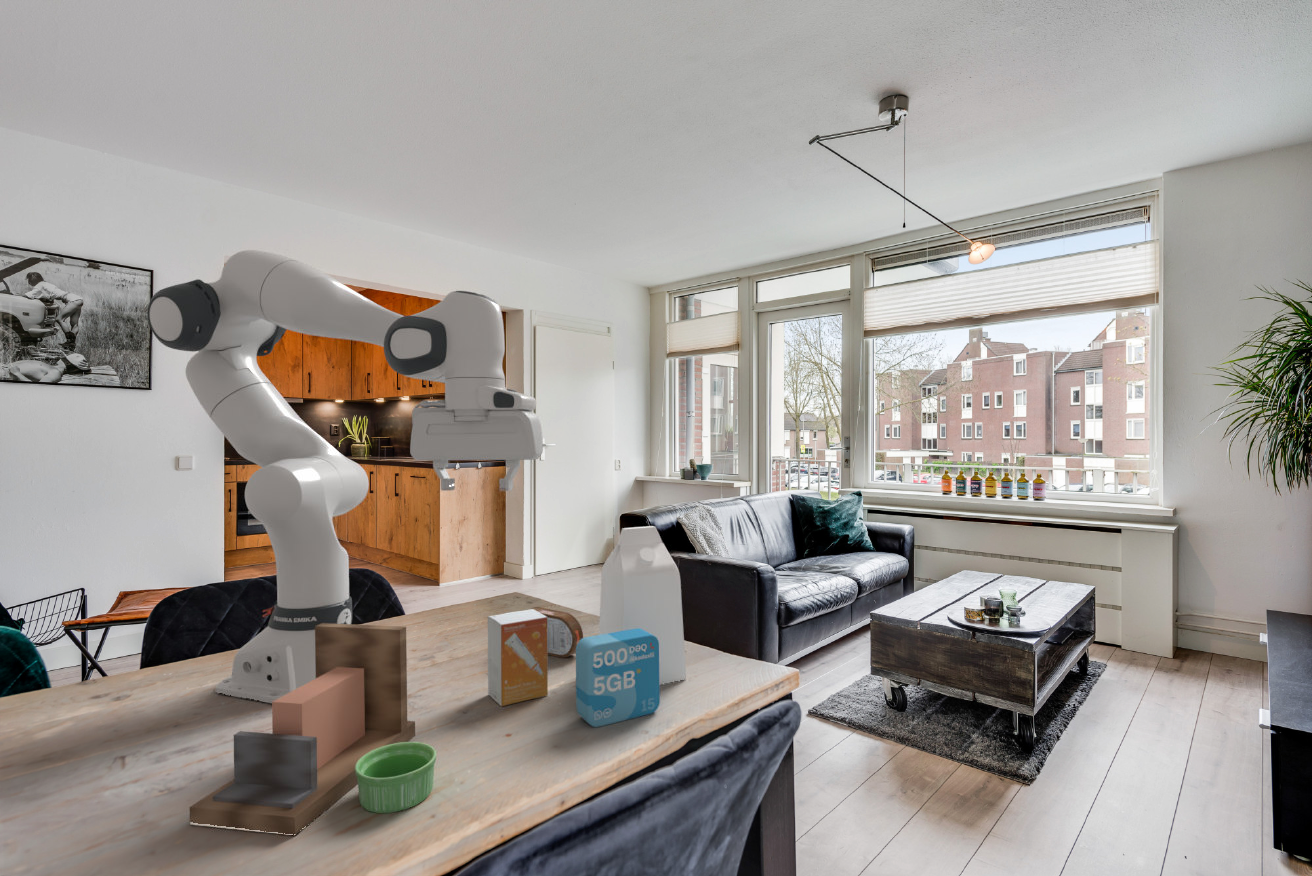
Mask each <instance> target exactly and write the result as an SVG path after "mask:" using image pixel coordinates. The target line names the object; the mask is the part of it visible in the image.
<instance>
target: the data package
mask: <svg viewBox="0 0 1312 876" xmlns="http://www.w3.org/2000/svg"><path fill="white" fill-rule="evenodd" d="M660 686H661V685H660V684H659V641H658V639H657V638H656V637H655V636H654V635H652V634H650V633H648V632H646V631H644V630H642V629H640V628H636V629H630V630H624V631H619V632H613V633H607V634H601V635H599V634H597V635H590V636H586V637H583V638H582V639H581V640H580V641H579V642H578V644H577V646H576V653H575V691H576V693H575V694H576V695H575V698H576V699H575V700H576V703H575V705H576V712H577V714H578V715H579V716H580V717H581V718H582V719H583V720H584V721H585V722H586V723H588V725H589V726H591V727H593V728H599V727H603V726H607V725H612V724H615V723H620V722H623V721H627V720H632V719H636V718H641V717H644V716H648V715H652V714H654V713H655V712H656V711H657V710H658V709H659V706H660V704H661V703H660V702H661V701H660V699H661V698H660V697H661V695H660V690H661V689H660Z"/></svg>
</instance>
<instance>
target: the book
mask: <svg viewBox="0 0 1312 876" xmlns="http://www.w3.org/2000/svg"><path fill="white" fill-rule="evenodd" d="M271 710H272V712H271V714H272V715H271V718H272V719H271V720H272V722H271V723H272V725H271V726H272V728H271V729H272V731H271V732H272V734H284V735H297V736H310V737H317V770H318V769H319V768H320V767H322V766H323V765H324V764H326V763H327V762H328V761H330V760H331V759H333V758H334V757H335V756H337V755H338V754H339V753H341V752H342V751H343V750H345V749H346V748H348V747H349V746H350V745H352V744H353V743H354V742H356V741H357V740H358V739H360V738H361V737H363V736H364V735H365V702H364V668H346V667H337V668H335V669H333V670H331V671H329V672H327V673H325V674H323V675H322V676H320V677H318V678H316V679H314V680H312V681H310V682H308V683H307V684H305V685H303V686H301V687H299V688H297V689H295V690H293V691H292V692H290V693H288V694H286V695H284V696H282V697H280V698H278V699H277V700H275V701H273V702H272V703H271Z"/></svg>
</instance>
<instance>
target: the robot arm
mask: <svg viewBox="0 0 1312 876" xmlns="http://www.w3.org/2000/svg"><path fill="white" fill-rule="evenodd" d="M146 315H147V322H148V324H149V327H150V330H151V332H152V333H153V335H154V336H155V338H156V339H157V340H158V342H159V343H161V344H162V345H164V347H167V348H169V349H173V350H177V351H184V352H197V353H195V354H194V355H192V357H191V358H190V359H189V361H188V362H187V363H186V368H185V377H186V379H187V382H188V384H189V386H190V388H191V390H192V392H193V393H194V394H193V395H194V396H195V397H196V399H197V400H198V403H199V404H200V406H202V408H203V410H204V411H205V413H206V414H207V416H208V417H209V419H211V421H212V422H213V423H214V425H215V426H216V427H217V429H219V431H220V432H221V433H222V434H223V436H224V437H225V438H226V440H227V441H228V443H230V445H231V446H232V447H233V448H234V449H235V451H236V452H237V454H238V455H240V456H241V457H243V458H244V459H245V460H247V461H249V462H252V463H254V464H256V465H258V466H259V467H260V468H258V469H257V470H256V471H254V472H253V473H252V474H251V476H250V477H249V479H248V480H247V483H246V485H245V489H244V500H245V504H246V508H247V509H248V511H249V512H250V514H251V515H252V517H254V518H255V519H256V520H257V521H259V522H260V523H261V524H262V526H263V527H264V529H265V531H266V533H267V536H268V537H269V540H270V544H271V547H272V551H273V554H274V558H275V559H274V560H275V568H276V591H277V593H276V594H277V597H276V599H277V600H276V602H277V603H276V604H274V605H273V606H272V607H269V608H267V609H264V610H262V613H264V612H265V614H263V615H262V617H263V618H265V617H268V616H270V617H269V621H268V624H267V626H266V627H265V628H264V629H263V630H261V632H259V633H258V634H256V635H255V636H254V637H253V638H252V639H250V640H249V641H248V642H247V643H246V644H244V645H242V646H241V647H240V648H239V649H238V651H237V652H236V654H235V656H234V658H233V663H232V668H231V669H232V670H231V675H229V676H227V677H226V678H224V679H222V680H221V681H219V683H217V685H216V686H215V691H214V692H215V693H216V692H217V693H216V694H219V693H223V694H222V695H224V694H225V696H230V695H231V696H230V697H236V698H241V697H242V699H246V698H250V699H249V700H251V699H254V700H253V701H257V700H260V701H259V702H263V703H267V704H272V702H273V701H275V700H277V699H278V698H280V697H282V696H284V695H286V694H288V693H290V692H292V691H293V690H295V689H297V688H299V687H301V686H303V685H305V684H307V683H308V682H310V681H312V680H314V679H316V668H315V626H317V625H319V624H321V623H330V624H352V622H353V600H352V598H353V597H351V596H350V577H349V576H350V575H349V574H350V569H349V567H350V566H349V564H350V563H349V562H350V561H349V559H350V557H349V554H348V551H347V550H346V549H345V547H343V546H342V545H341V543H340V541H339V539H338V536H337V533H336V530H335V527H334V522H333V518H334V517H338V516H342V515H345V514H348V512H350V511H352V510H353V509H354V508H356V507H358V506H359V505H360V504H361V503H362V502H363V501H364V500H365V498H366V497H367V495H368V491H369V487H370V485H369V477H368V475H367V472H366V471H365V469H364V468H363V467H362V465H360V464H359V463H357V462H355V461H354V460H352V459H350V458H348V457H346V456H345V455H344V454H343V453H341V452H339V450H337V449H336V448H335V447H334V446H333V445H331V443H329V442H328V441H327V440H326V439H325V438H324V437H322V435H320V434H318V433H317V431H315V430H314V429H312V427H310V426H309V425H308V424H307V423H306V422H305V421H304V420H303V419H302V418H301V417H300V415H298V413H297V412H296V411H295V410H294V409H293V408H292V406H291V405H290V404H289V403H288V401H287V400H286V398H284V396H282V394H281V393H280V392H279V391H278V389H277V388H276V387H275V385H274V384H273V383H272V382H271V380H269V377H267V376H266V375H265V374H264V373H263V371H262V369H261V368H260V366H259V364H258V360H257V359H258V358H257V357H264V356H268V355H270V354H271V353H272V352H273V350H274V347H275V345H276V344H277V343H278V342H279V341H281V339H282V338H283V337H284V335H285V334H286V331H287V330H289V331H291V332H295V333H299V334H303V335H308V336H316V337H322V338H323V337H324V338H331V339H341V340H350V341H357V342H362V343H368V344H372V345H377V346H380V347H382V348H383V353H384V357H385V359H386V362H387V364H388V366H389V367H390V368H391V369H392V370H393V371H394V372H395V373H397V374H399V375H402V376H405V377H407V378H411V379H417V380H422V381H430V382H437V383H442V384H444V394H445V395H444V399H440V400H422V401H420V403H418V404H416V405H415V406H414V407H413V409H412V412H411V417H412V418H411V419H412V420H411V421H412V429H411V435H410V445H409V447H410V448H409V449H410V451H409V453H410V455H411V457H412V458H413V460H414V461H432V467H433V468H432V469H433V470H434V472H435V473H436V475H437V477H438V478H439V480H440V490H441V491H448V492H449V491H454V490H455V489H456V485H455V483H456V478H453V477H450V476H449V473H448V471H447V469H446V468H448V467H449V461H505V467H506V468H508V470H507V473H506V474H505V476H504V478H499V479H498V480H499V482H498V484H499V486H498V488H499V489H498V490H499V491H502V492H505V491H508V492H510V491H512V490H513V488H514V478H515V477H516V475H517V473H518V471H519V469H520V468H521V461H526V460H527V461H528V460H529V461H532V460H538V459H540V457H541V456H542V454H543V451H544V442H543V432H542V431H543V430H542V426H541V424H542V423H541V420H540V418H539V416H538V414H537V413H535V412H534V411H535V409H536V408H537V400H536V398H535V397H533V396H531V395H528V394H524V393H521V392H518V391H517V390H515V389H511V388H507V386H506V376H505V373H504V369H503V360H504V357H505V352H506V351H505V349H506V347H505V329H504V328H505V327H504V319H503V313H502V309H501V306H500V304H498V302H497V301H496V300H495V299H492V298H491V297H489V296H487V295H485V294H480V293H477V292H472V291H466V290H455V291H450V292H449V293H448V294H446V296H445V297H444V298H443V299H442V300H441V301H439V302H438V303H437V304H435V305H433V306H432V307H429V308H427V309H425V310H423V311H421V312H418V313H414V314H411V315H403V314H401V313H398V312H395V311H393V310H390V309H387V308H385V307H383V306H382V305H380V304H377V303H376V302H374V301H372V300H371V299H369V298H367V297H366V296H364V295H362V294H360V293H359V292H357V291H355V290H354V289H352V288H350V287H349V286H347V285H345V284H343V283H342V282H340V281H339V280H337V279H335V278H334V277H333V276H330V275H329V274H328V273H327V274H326V273H325V272H323V271H321V270H319V269H317V268H315V267H313V266H311V265H310V264H307V263H304V262H302V261H299V260H296V259H294V258H291V257H287V256H286V255H285V256H284V255H281V254H276V253H272V252H267V251H263V250H254V249H244V250H241V251H238V252H235V253H234V254H233V255H231V256H230V257H229V258H228V259H227V261H226V262H225V263H224V265H223V268H222V271H221V276H220V278H218V280H216V281H213V282H205V281H203V280H201V279H199V278H198V279H195V280H191V281H187V282H183V283H178V284H175V285H171V286H166V287H164V288H162V289H159V290H158V291H157V292H155V293H154V294H153V295H152V297H151V298H150V300H149V302H148V306H147V313H146Z"/></svg>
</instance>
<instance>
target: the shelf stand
mask: <svg viewBox="0 0 1312 876" xmlns="http://www.w3.org/2000/svg"><path fill="white" fill-rule="evenodd" d="M407 662H408V659H407V626H397V625H396V626H394V625H375V624H373V625H372V624H371V625H369V624H354V623H353V624H330V623H321V624H319V625H317V626H315V668H316V678H318V677H320V676H322V675H323V674H325V673H327V672H329V671H331V670H333V669H335V668H337V667H346V668H364V702H365V735H364V736H363V737H361V738H360V739H358V740H357V741H356V742H354V743H353V744H352V745H350V746H349V747H348V748H346V749H345V750H343V751H342V752H341V753H339V754H338V755H337V756H335V757H334V758H333V759H331V760H330V761H328V762H327V763H326V764H324V765H323V766H322V767H320V768H319V769H318V770H317V737H310V736H297V735H284V734H273V733H268V732H256V731H242V730H240V731H238V732H236V733H235V734H233V779H231V780H229V781H228V782H227V783H225V784H223V785H222V786H219V787H218V788H216V789H215V790H214V791H212V792H211V793H209V794H207V795H206V796H205V797H202V798H201V799H200V800H198V801H197V802H195V803H193V804H192V805H190V806H189V823H190V822H193V823H198V824H210V825H214V826H215V825H217V826H226V827H235V828H245V829H249V830H260V831H264V832H265V831H266V832H278V833H283V834H284V833H285V834H293V835H294V834H297V833H298V832H299V831H300V830H302V828H304V827H305V826H307V825H308V824H309V823H310V822H312V821H313V820H314V819H315V818H317V817H318V816H319V815H320V816H322V814H323V812H324V811H325V812H327V811H328V809H330V808H331V807H333V805H334V804H336V803H337V802H338V801H339V800H340V799H342V798H343V797H344V796H345V795H346V794H348V793H349V792H350V791H351V790H352V789H354V787H356V786H358V780H357V776H356V774H355V765H356V763H357V761H358V760H359V759H360V758H361V757H362V756H364V755H365V754H367V753H369V752H370V751H372V750H375V749H377V748H380V747H383V746H386V745H390V744H395V743H401V742H410V740H412V739H413V738H414V737H416V721H414V720H408V677H407V676H408V671H407V667H408V665H407ZM342 796H343V797H342ZM336 801H337V802H336ZM329 807H330V808H329ZM325 812H324V813H325ZM320 816H319V817H320ZM319 817H318V818H319ZM318 818H317V819H318ZM315 820H316V819H315ZM315 820H314V821H315ZM314 821H313V822H314ZM313 822H312V823H313ZM309 825H310V824H309ZM309 825H308V826H309ZM308 826H307V827H308ZM302 831H303V830H302Z"/></svg>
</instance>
